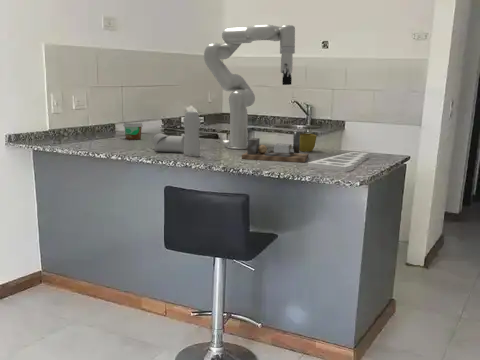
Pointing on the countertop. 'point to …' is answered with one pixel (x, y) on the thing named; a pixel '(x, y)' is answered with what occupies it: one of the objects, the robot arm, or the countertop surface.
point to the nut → (262, 149)
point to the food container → (133, 131)
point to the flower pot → (307, 142)
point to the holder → (340, 162)
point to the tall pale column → (191, 134)
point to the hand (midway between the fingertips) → (287, 84)
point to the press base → (270, 154)
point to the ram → (289, 145)
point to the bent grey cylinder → (168, 143)
